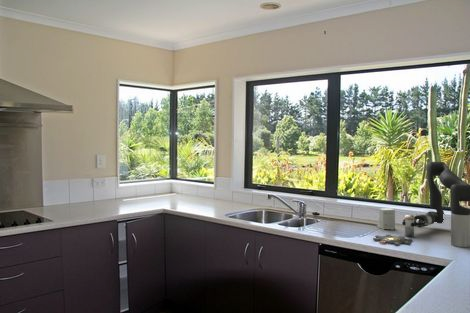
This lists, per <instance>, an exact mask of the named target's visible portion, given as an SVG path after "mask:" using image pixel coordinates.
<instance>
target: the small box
mask: <svg viewBox="0 0 470 313" xmlns="http://www.w3.org/2000/svg"><path fill="white" fill-rule="evenodd" d="M379 227H380V228H382V229H381V230H383V229H391V230H396V209H394V208H390V207H386V208H378V228H379ZM380 228H379V229H380Z"/></svg>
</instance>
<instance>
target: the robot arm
mask: <svg viewBox="0 0 470 313" xmlns="http://www.w3.org/2000/svg"><path fill="white" fill-rule="evenodd" d="M426 164H427V165H426V175H427V182H428V191H429V207H430V208H432V209H434V210H435V211H428V212H426V213H422V214H417V215H414V223H412V224H411V226H412V227H414V228H415V227H417V228H424V227H425V228H426V227H427V226H430V225H433V224H435V223H434V222H437V223H436V224H443V223H444V222H443V220H444V219H443V214H444V215H445V212H444V208H443V196H442V192H441V191H440V189H439V188H438V186H437V184H436V182H435V179H434V177H439V182H440V183H441V185H442V186H444V187H445V188H446V189H448V190H449V196H450V197H449V198H450V199H449V201H450V245H451V246H454V247H459V248H467V249H468V248H470V208H468V207H466V206H463V205H461V204H460V202H470V183H469V182H466V181H464V180H463V179H462V178H460V177H459V176H458V175H457V174H456V173H455V172H453V171H452V169H450V168H449V165H447V164H446V163H445V162H444V161H429V162H428V163H426ZM442 222H443V223H442ZM401 225H402V226H405V218H404V219H403V220H402V224H401Z"/></svg>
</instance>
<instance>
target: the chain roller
mask: <svg viewBox="0 0 470 313" xmlns="http://www.w3.org/2000/svg"><path fill="white" fill-rule="evenodd" d="M414 217H415V215H413V214H404V219H405V225H404V236H405V237H415V226H414V227H412V226H411V224H412V223H414Z"/></svg>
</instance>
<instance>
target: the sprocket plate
mask: <svg viewBox="0 0 470 313" xmlns="http://www.w3.org/2000/svg"><path fill="white" fill-rule="evenodd" d="M375 237H376V238H375ZM405 237H406V236H405V235H399V236H397V235H391V234H385V235H379V234H377V235H375V236H374V237H373V238H372V241H373V240H377V241H376V242H379V244H380V243H382V244H381V245H386V243H388V245H393V246H396V247H401V246H400V245H407V246H410V244H411V245H412V243H413V241H414V240H413V239H412V238H405Z"/></svg>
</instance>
